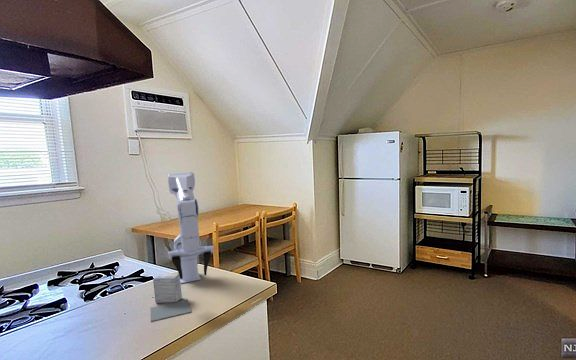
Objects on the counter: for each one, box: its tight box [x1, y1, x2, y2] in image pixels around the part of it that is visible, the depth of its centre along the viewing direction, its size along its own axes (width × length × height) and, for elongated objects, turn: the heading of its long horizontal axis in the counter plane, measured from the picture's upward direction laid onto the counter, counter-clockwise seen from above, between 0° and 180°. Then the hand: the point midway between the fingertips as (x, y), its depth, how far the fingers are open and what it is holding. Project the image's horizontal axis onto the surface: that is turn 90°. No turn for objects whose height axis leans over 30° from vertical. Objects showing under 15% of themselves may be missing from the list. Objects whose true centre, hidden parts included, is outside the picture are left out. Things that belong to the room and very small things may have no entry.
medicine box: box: [152, 273, 183, 304], centre depth 114 cm, size 8×4×9 cm, turn 84°
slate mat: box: [150, 299, 192, 323], centre depth 107 cm, size 10×12×1 cm
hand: (193, 276), depth 109 cm, fingers open, 7 cm apart
